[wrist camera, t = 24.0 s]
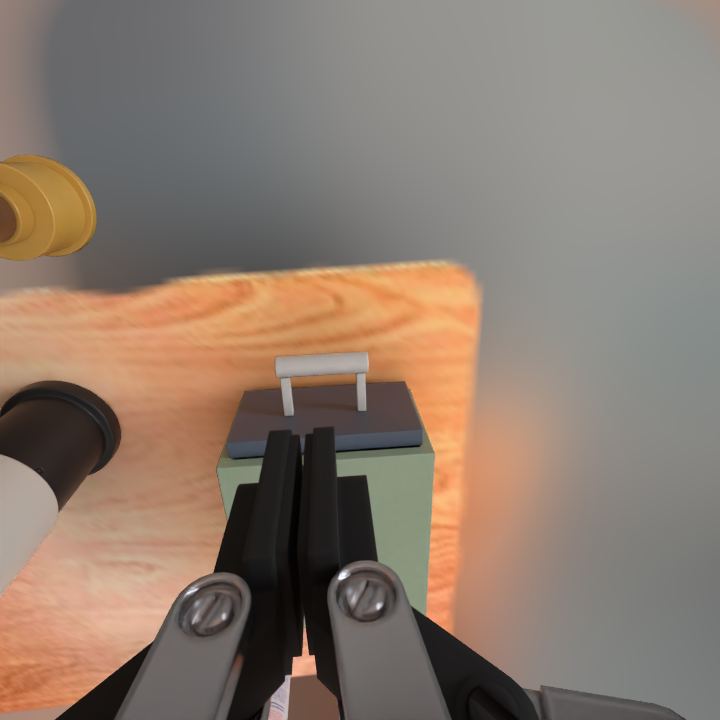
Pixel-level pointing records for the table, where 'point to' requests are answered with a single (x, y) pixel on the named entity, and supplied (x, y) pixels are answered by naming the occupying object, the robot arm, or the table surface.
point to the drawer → (327, 408)
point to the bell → (42, 209)
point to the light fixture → (46, 462)
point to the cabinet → (375, 503)
